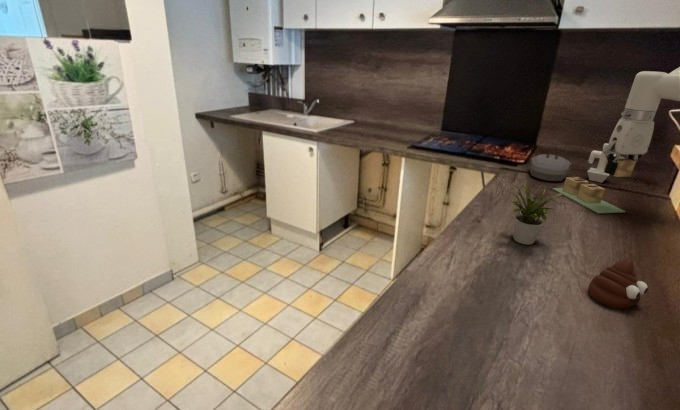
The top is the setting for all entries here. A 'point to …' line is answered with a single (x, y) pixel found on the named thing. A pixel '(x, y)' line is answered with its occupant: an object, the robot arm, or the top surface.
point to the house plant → (529, 216)
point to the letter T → (624, 167)
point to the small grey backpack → (549, 167)
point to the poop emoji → (618, 285)
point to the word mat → (592, 204)
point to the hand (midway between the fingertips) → (617, 173)
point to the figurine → (599, 172)
